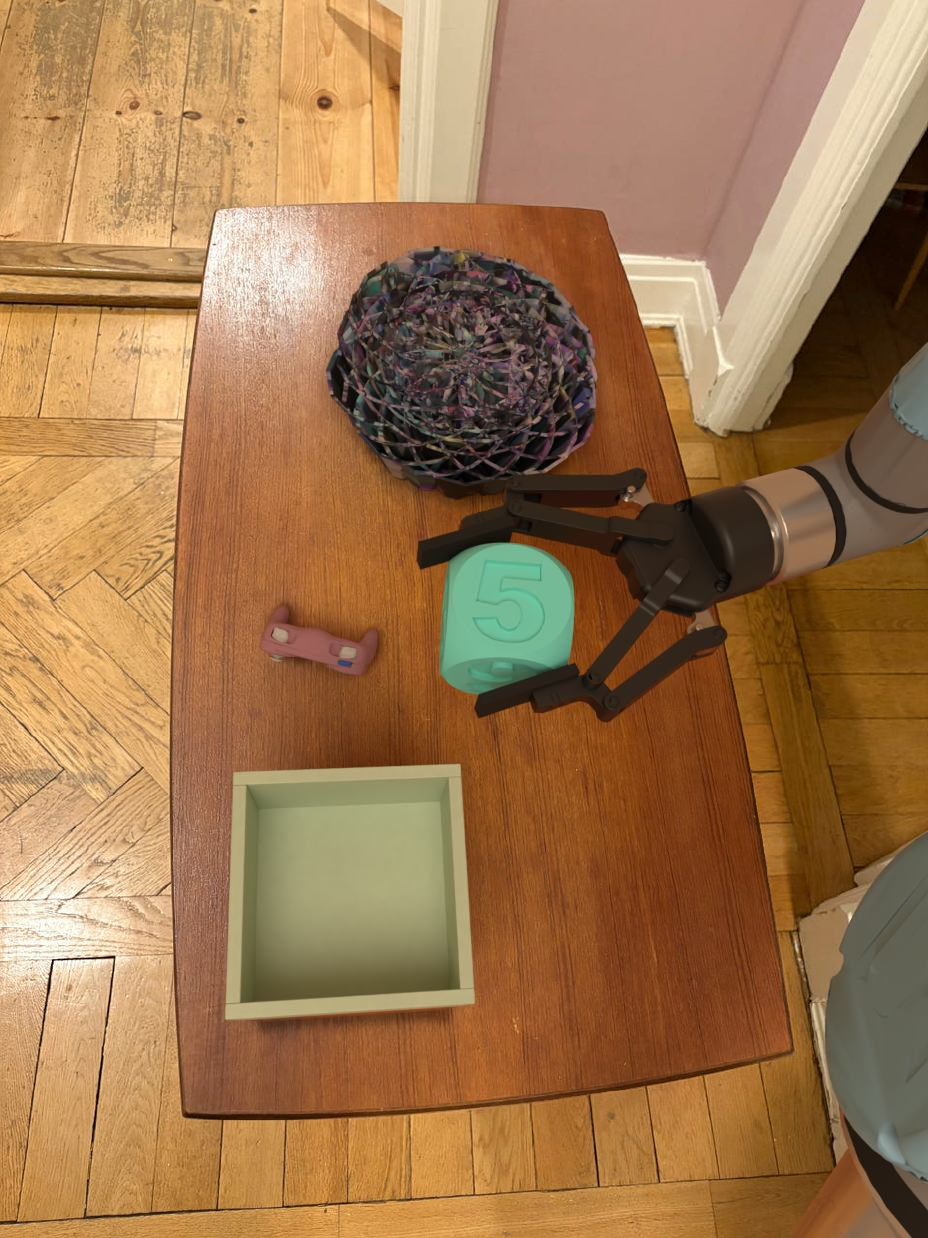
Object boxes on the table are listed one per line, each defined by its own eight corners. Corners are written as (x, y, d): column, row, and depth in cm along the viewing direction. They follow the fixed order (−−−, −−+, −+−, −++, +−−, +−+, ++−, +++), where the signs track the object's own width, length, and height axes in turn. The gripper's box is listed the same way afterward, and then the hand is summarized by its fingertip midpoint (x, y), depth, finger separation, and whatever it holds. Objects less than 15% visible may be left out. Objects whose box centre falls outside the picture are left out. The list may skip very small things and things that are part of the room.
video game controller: (266, 651, 86) (247, 658, 79) (278, 602, 86) (260, 605, 79) (371, 679, 86) (361, 688, 79) (384, 630, 86) (375, 635, 79)
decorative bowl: (324, 526, 92) (319, 480, 83) (334, 289, 101) (331, 222, 91) (584, 534, 94) (608, 490, 85) (571, 302, 103) (592, 238, 94)
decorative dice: (552, 597, 69) (574, 546, 62) (551, 702, 66) (575, 661, 58) (442, 589, 68) (452, 536, 61) (436, 694, 65) (446, 651, 58)
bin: (462, 1006, 60) (475, 1003, 52) (242, 1020, 58) (224, 1020, 51) (450, 792, 65) (460, 763, 58) (248, 800, 63) (233, 771, 56)
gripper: (802, 702, 65) (504, 809, 60) (662, 434, 73) (389, 509, 68) (854, 664, 58) (523, 781, 53) (693, 372, 66) (391, 451, 61)
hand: (447, 629), depth 61 cm, fingers closed on decorative dice, 10 cm apart
